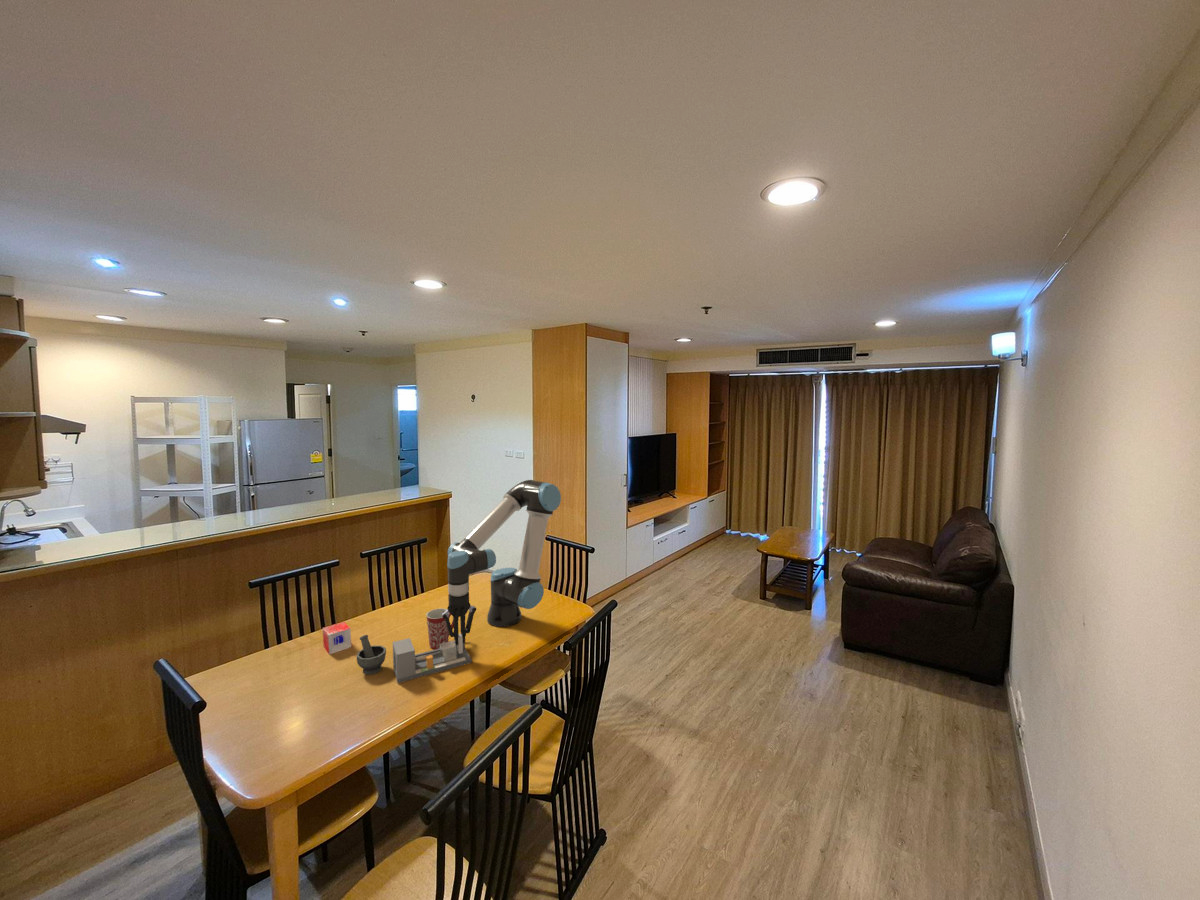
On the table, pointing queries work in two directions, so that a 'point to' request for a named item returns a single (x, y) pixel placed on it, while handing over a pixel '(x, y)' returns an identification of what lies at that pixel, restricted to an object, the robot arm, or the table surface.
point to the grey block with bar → (442, 652)
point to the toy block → (336, 637)
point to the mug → (437, 628)
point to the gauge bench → (410, 669)
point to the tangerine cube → (429, 662)
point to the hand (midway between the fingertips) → (459, 651)
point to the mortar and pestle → (370, 656)
